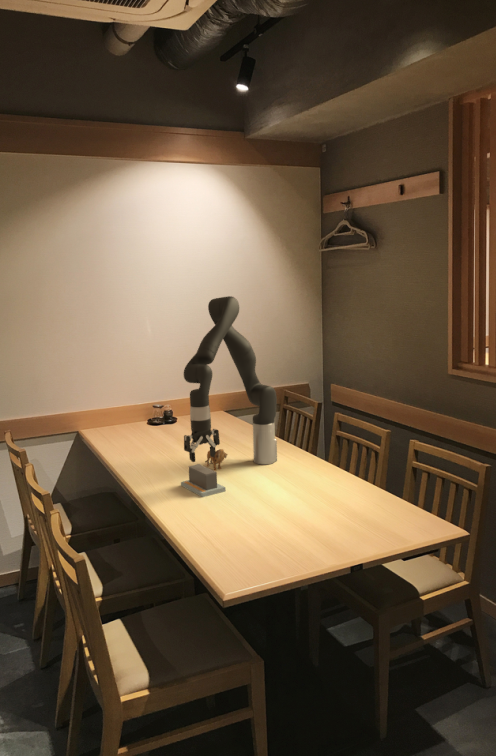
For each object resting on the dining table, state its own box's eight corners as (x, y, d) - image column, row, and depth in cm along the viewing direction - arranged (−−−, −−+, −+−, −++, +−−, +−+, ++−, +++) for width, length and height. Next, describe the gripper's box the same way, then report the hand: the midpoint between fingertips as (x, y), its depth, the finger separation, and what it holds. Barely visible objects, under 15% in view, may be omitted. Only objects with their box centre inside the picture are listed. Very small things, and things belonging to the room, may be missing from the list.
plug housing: (199, 478, 251) (198, 463, 250) (217, 487, 241) (216, 471, 240) (189, 481, 249) (188, 466, 248) (206, 490, 238) (206, 474, 237)
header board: (203, 480, 254) (202, 465, 253) (225, 491, 241) (225, 475, 240) (181, 485, 249) (180, 470, 248) (202, 497, 236) (201, 481, 235)
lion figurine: (229, 470, 266) (229, 449, 264) (219, 473, 263) (218, 451, 261) (209, 462, 277) (209, 441, 276) (199, 464, 274) (198, 444, 273)
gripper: (211, 412, 247) (213, 453, 250) (178, 418, 239) (181, 460, 242) (222, 415, 241) (224, 457, 244) (189, 422, 233) (191, 465, 236)
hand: (202, 459), depth 243 cm, fingers open, 8 cm apart
